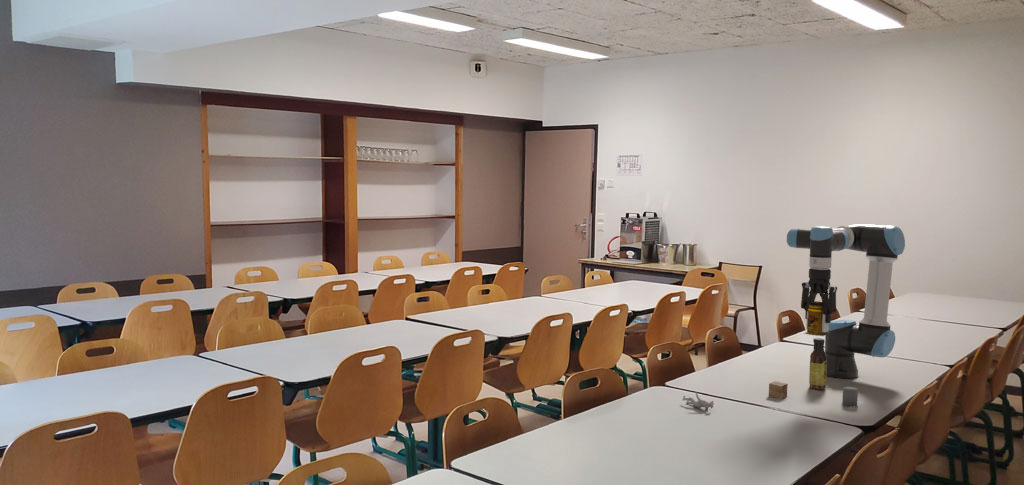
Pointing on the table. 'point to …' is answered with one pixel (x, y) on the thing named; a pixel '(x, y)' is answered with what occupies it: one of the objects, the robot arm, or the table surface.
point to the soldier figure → (699, 402)
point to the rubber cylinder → (850, 396)
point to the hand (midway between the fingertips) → (817, 329)
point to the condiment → (815, 319)
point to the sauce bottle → (818, 365)
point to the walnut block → (778, 389)
